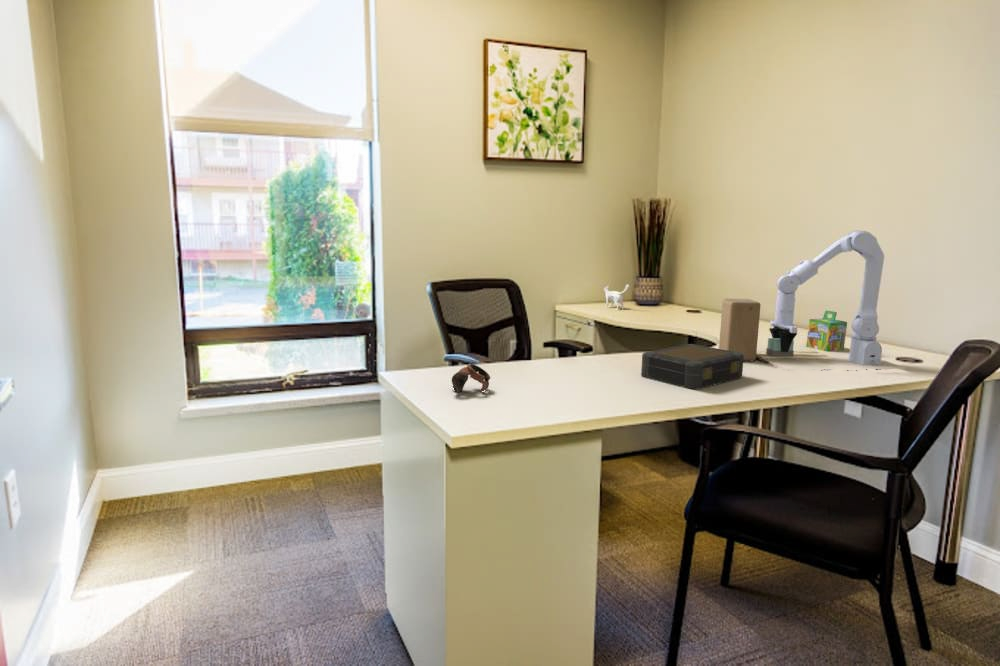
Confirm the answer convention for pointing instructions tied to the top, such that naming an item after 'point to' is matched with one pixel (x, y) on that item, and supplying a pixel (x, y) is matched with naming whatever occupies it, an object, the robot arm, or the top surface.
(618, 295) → the cat figurine
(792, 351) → the sanding block
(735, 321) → the wooden block
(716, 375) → the cash box
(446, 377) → the top surface
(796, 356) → the board
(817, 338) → the chalk box
